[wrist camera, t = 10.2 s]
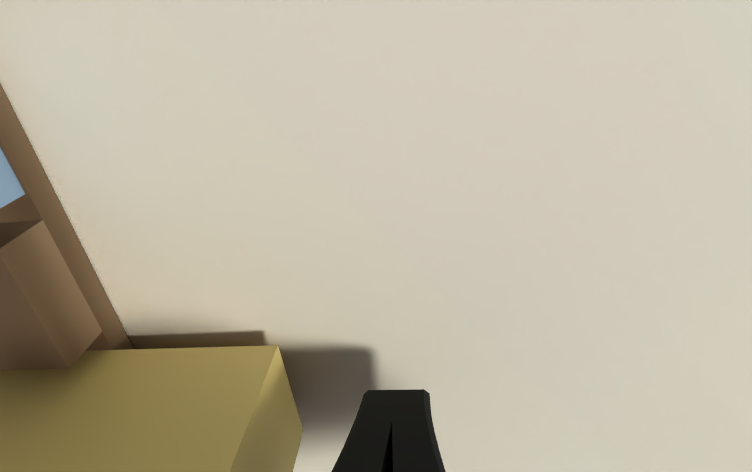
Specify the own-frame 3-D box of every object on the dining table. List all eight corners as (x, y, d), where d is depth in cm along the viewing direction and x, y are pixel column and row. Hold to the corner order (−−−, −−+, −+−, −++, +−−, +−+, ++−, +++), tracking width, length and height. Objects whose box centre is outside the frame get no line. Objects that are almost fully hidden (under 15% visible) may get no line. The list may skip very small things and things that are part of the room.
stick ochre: (277, 345, 11) (221, 493, 8) (303, 430, 12) (263, 583, 9) (-91, 355, 12) (-263, 485, 9) (-28, 431, 14) (-158, 564, 11)
